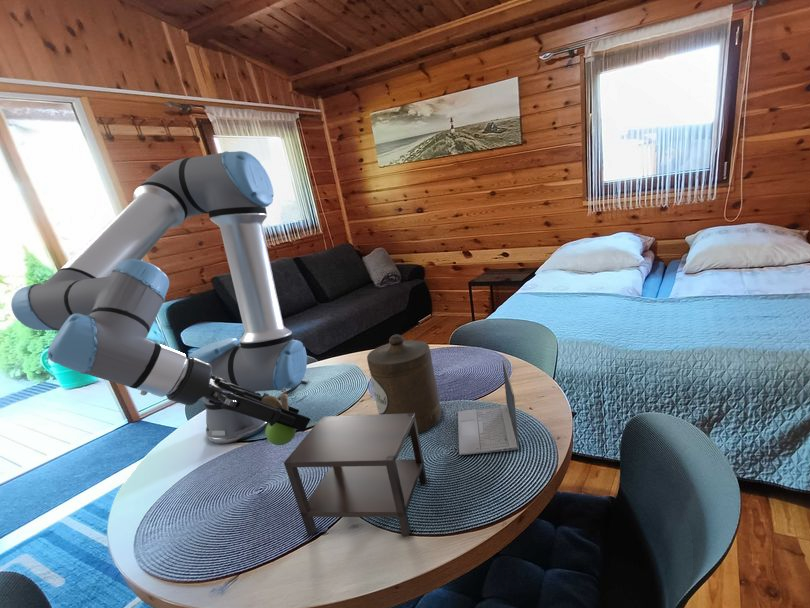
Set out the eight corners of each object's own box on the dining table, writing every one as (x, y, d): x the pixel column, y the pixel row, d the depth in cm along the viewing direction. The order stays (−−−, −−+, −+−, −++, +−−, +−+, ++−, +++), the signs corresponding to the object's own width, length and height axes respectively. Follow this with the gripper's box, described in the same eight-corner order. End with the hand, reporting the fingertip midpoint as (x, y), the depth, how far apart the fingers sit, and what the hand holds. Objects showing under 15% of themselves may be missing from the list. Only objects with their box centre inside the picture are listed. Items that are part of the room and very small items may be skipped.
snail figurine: (293, 451, 82) (276, 396, 77) (263, 450, 83) (245, 395, 78) (308, 435, 86) (292, 381, 82) (280, 434, 88) (263, 382, 83)
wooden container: (385, 408, 113) (368, 329, 105) (441, 401, 113) (429, 321, 105) (377, 439, 99) (357, 351, 91) (441, 431, 99) (426, 343, 91)
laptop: (458, 413, 106) (451, 365, 101) (508, 407, 106) (504, 358, 101) (459, 457, 89) (450, 401, 84) (519, 450, 89) (514, 394, 84)
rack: (340, 481, 86) (322, 416, 81) (427, 480, 84) (414, 412, 78) (307, 535, 74) (283, 462, 68) (409, 536, 71) (392, 460, 65)
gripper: (155, 383, 76) (275, 423, 92) (174, 414, 63) (310, 454, 79) (178, 345, 77) (292, 391, 93) (201, 368, 64) (330, 417, 80)
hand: (300, 420), depth 86 cm, fingers closed on snail figurine, 5 cm apart
